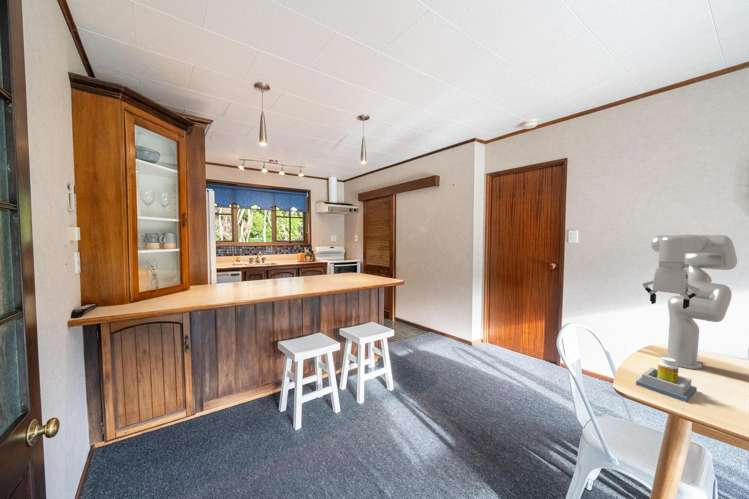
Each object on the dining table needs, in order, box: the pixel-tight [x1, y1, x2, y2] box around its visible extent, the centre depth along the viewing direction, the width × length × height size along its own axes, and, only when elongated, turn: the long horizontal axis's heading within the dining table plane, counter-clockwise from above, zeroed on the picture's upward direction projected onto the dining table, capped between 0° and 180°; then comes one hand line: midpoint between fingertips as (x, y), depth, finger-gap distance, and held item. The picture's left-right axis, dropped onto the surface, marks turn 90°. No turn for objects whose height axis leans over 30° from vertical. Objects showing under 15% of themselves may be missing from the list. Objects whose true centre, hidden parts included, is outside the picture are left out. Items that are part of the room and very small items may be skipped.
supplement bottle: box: [657, 356, 679, 384], centre depth 114 cm, size 6×6×10 cm
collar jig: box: [635, 367, 698, 403], centre depth 114 cm, size 14×14×4 cm
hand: (668, 305), depth 123 cm, fingers open, 9 cm apart
